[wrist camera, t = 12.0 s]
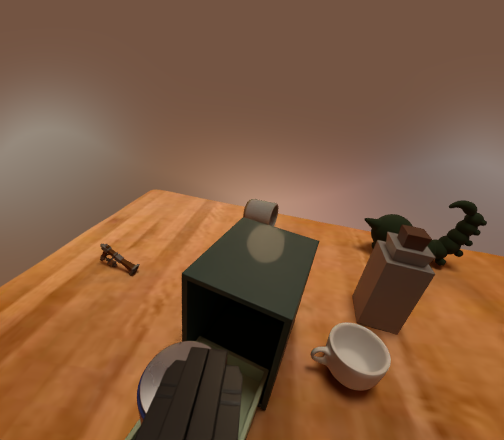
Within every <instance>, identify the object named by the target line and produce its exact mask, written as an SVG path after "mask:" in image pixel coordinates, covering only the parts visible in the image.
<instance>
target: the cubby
mask: <svg viewBox="0 0 504 440" xmlns="http://www.w3.org/2000/svg"><path fill="white" fill-rule="evenodd" d="M318 244H319V241H317V240H314V239H311V238H308V237H305V236H302V235H298V234H295V233H292V232H289V231H286V230H283V229H279V228H276V227H273V226H270V225H267V224H264V223H260V222H257V221H254V220H251V219H248V218H244V217H243V218H242V219H241V220H239V221H238V222H237V223H236V224H235V225H234V226H233V227H232V228H231V229H230V230H229V231H227V232H226V233H225V234H224V235H223V236H222V237H221V238H220V239H219V240H218V241H217V242H215V243H214V244H213V245H212V246H211V247H210V248H209V249H208V250H207V251H206V252H205V253H203V254H202V255H201V256H200V257H199V258H198V259H197V260H196V261H195V262H194V263H192V264H191V265H190V266H189V267H188V268H187V269H186V270H185V271H184V272H183V273H182V342H184V341H196V340H197V338H198V337H199V336H202V337H204V338H206V339H208V340H210V341H212V342H214V343H216V344H218V345H220V346H222V347H224V348H226V349H228V350H230V351H232V352H234V353H236V354H238V355H240V356H242V357H244V358H246V359H248V360H250V361H252V362H254V363H256V364H258V365H260V366H262V367H264V368H265V369H268V370H269V373H268V376H267V380H266V383H265V386H264V389H263V392H262V395H261V398H260V400H259V403H258V407H260V408H262V409H263V410H266V407H267V404H268V401H269V398H270V395H271V392H272V389H273V386H274V382H275V379H276V376H277V373H278V370H279V367H280V364H281V361H282V358H283V355H284V352H285V348H286V345H287V342H288V339H289V336H290V333H291V330H292V327H293V324H294V321H295V318H296V314H297V311H298V308H299V305H300V301H301V298H302V295H303V292H304V289H305V285H306V282H307V279H308V276H309V272H310V269H311V266H312V263H313V260H314V256H315V253H316V250H317V247H318Z"/></svg>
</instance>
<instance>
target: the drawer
mask: <svg viewBox="0 0 504 440" xmlns="http://www.w3.org/2000/svg"><path fill="white" fill-rule="evenodd" d="M195 342H200V343H203V344H205V345H207V346H209V347H211V348H212V349H221V350H228V349H226V348H224V347H222V346H220V345H218V344H216V343H214V342H212V341H210V340H208V339H206V338H204V337H202V336H199V337H198V338H197V340H196V341H195ZM227 365H233V366H239V368H240V371H241V374H242V377H243V383H242V396H241V408H240V420H239V433H238V440H246V437H247V434H248V431H249V429H250V426H251V423H252V420H253V417H254V415H255V412H256V409H257V406H258V403H259V400H260V398H261V395H262V392H263V389H264V386H265V383H266V380H267V376H268V373H269V370H268V369H265V368H264V367H262V366H260V365H258V364H256V363H254V362H252V361H250V360H248V359H246V358H244V357H242V356H240V355H238V354H236V353H234V352H232V351H230V350H228V356H227ZM140 426H141V422H140V419H139V421H138V422H137V423H136V425H135V426H134V428H133V429H132V430H131V432H130V433H129V435H128V436H127V437H126V439H125V440H134V439H135V437H136V435H137V433H138V431H139V428H140Z"/></svg>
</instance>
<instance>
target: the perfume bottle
mask: <svg viewBox="0 0 504 440" xmlns="http://www.w3.org/2000/svg"><path fill="white" fill-rule="evenodd" d="M431 240H432V239H431V237H430V236H429V235H428V234H427V233H426V231H425V230H424V229H421V228H416V227H412V226H407V225H401V228H400V231H399V234H396V233H391V232H387V239H386V242H384V241H380V240H377V242H376V244H375V247H374V249H373V251H372V253H371V256H370V258H369V260H368V262H367V265H366V267H365V269H364V271H363V274H362V276H361V278H360V280H359V283H358V285H357V287H356V289H355V291H354V294H353V296H352V297H353V303H354V309H355V315H356V321H357V323H358V324H362V325H365V326H369V327H372V328H376V329H380V330H383V331H387V332H390V333H394V334H398V333H399V331H400V330H401V328H402V326H403V325H404V323H405V322H406V320H407V318H408V317H409V315H410V314H411V312H412V310H413V309H414V307H415V306H416V304H417V302H418V301H419V299H420V298H421V296H422V294H423V293H424V291H425V290H426V288H427V287H428V285H429V283H430V282H431V280H432V279H433V277H434V275H435V273H434V272H433V270H432V268H431V267H430V265H429V263H430V262H432V261H433V260H434V259H435V256H434V255H433V254H432V252H431V251H430V249H429V248H428V247H427V246H428V244H429V243H430V242H431Z"/></svg>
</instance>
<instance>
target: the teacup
mask: <svg viewBox="0 0 504 440" xmlns="http://www.w3.org/2000/svg"><path fill="white" fill-rule="evenodd" d="M317 352H323V353H324V354H325V355H324V357H316V356H314V355H315V354H316V353H317ZM311 357H312V359H313V360H315V361H317V362H319V363H321V364H324V365H326V366H327V367H328V368H329V370H330V372H331V373H332V375H333V376H334V377H335V378H336V380H338V381H339V382H340V383H341V384H342V385H344V386H346V387H348V388H350V389H353V390H368V389H370V388H372V387H374V386H375V385H376V384H377V383H378V382H379V381H380V380H381V379H382V378H383V376H384V375H385V374H386V372H387V371H388V369H389V367H390V362H391V359H390V354H389V351H388V349H387V347H386V345H385V344H384V343H383V341H382V340H381V339H380V338H379V337H378V336H377V335H376V334H374V333H373V332H372V331H370V330H369V329H367V328H365V327H363V326H361V325H358V324H354V323H340V324H338V325H336V326H334V327H333V329H332V330H331V332H330V335H329V337H328V341H327V344H326V347H317V348H315V349H313V350H312V352H311Z"/></svg>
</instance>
